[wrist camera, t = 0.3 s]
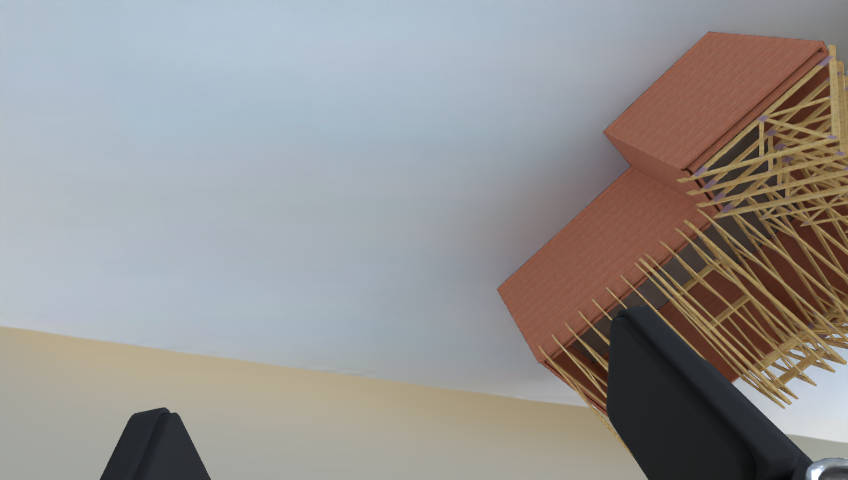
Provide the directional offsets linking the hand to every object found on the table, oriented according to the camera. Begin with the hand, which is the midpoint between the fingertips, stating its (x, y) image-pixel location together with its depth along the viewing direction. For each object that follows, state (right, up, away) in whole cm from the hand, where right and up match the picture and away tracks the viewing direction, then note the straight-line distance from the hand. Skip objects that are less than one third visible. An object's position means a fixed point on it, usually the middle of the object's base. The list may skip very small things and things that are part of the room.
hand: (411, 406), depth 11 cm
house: (+22, +4, +37) cm, 43 cm away
